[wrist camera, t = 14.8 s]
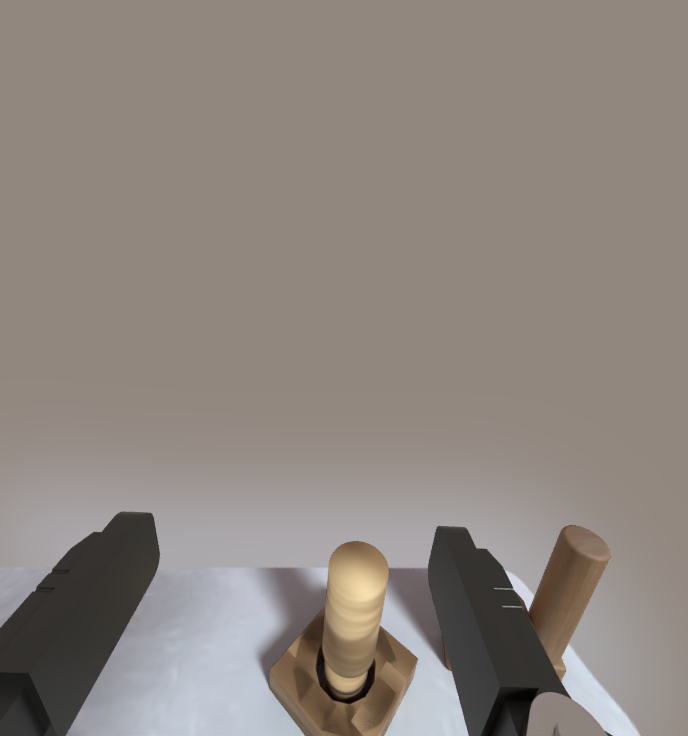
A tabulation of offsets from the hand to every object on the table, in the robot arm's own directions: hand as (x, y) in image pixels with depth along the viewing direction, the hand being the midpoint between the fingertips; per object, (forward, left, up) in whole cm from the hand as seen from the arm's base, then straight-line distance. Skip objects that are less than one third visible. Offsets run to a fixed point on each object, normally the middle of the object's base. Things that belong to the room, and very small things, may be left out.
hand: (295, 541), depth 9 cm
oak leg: (+11, +5, -32) cm, 34 cm away
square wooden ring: (+12, +5, -32) cm, 34 cm away
